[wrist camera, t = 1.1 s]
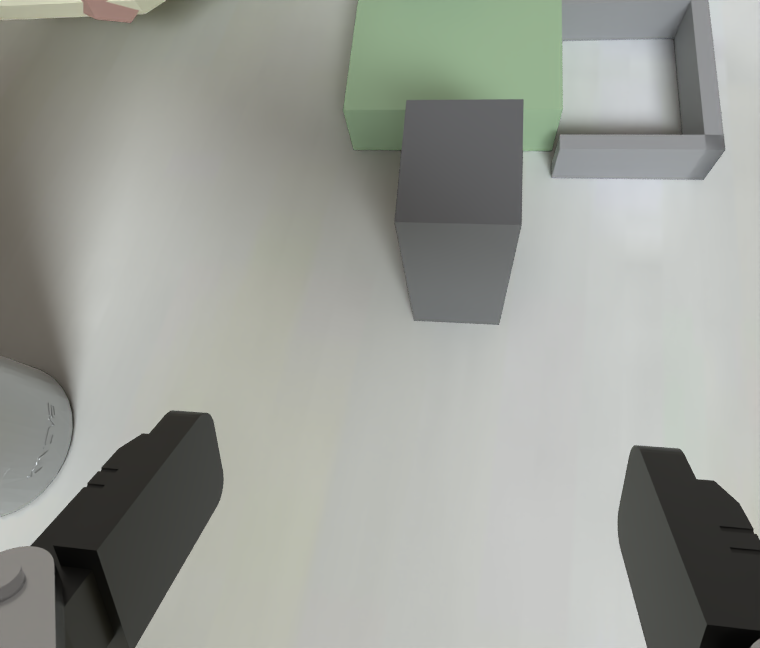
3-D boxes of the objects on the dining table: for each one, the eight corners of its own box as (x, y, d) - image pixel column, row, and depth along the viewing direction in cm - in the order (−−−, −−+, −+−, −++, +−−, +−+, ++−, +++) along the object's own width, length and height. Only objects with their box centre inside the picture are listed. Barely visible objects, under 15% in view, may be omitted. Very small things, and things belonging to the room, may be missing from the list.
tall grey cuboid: (414, 320, 34) (394, 222, 23) (421, 231, 36) (406, 100, 25) (499, 324, 34) (521, 225, 22) (501, 233, 36) (523, 99, 24)
